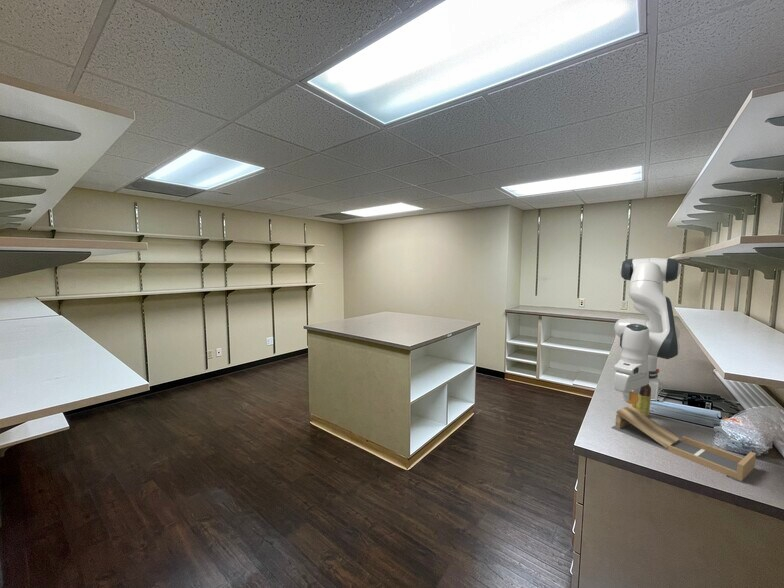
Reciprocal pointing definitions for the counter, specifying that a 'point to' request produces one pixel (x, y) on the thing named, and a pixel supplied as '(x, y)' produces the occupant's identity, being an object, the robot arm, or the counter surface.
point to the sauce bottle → (643, 400)
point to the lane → (702, 454)
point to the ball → (632, 398)
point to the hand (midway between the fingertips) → (630, 398)
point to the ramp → (644, 425)
